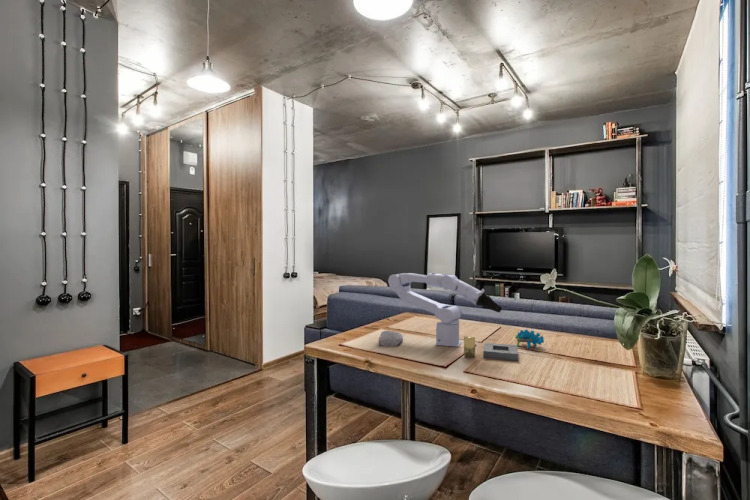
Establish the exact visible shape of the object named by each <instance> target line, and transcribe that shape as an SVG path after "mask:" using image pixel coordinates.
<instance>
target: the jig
mask: <svg viewBox="0 0 750 500" xmlns="http://www.w3.org/2000/svg"><path fill="white" fill-rule="evenodd" d="M482 357H483V359H493V360H503V361H512V362H519V349H518V346H517V344H509V343H495V342H484V346H483V356H482Z"/></svg>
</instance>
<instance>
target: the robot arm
mask: <svg viewBox="0 0 750 500" xmlns="http://www.w3.org/2000/svg"><path fill="white" fill-rule="evenodd" d="M387 281H388V286H389V289H390V290H392V291H394V293H395V294H396V295H397V296H398V297H399V298H400V300H402V301H404V302H407V303H409V304H410V305H413V306H415V307H418V308H420V309H423V310H425V311H426V312H429V313H431V314H434V316H435V318H437V319H439V320H440V321H439V322H437V323H436V327H435V328H436V329H435V335H436V336H435V338H436V339H435V341H436V342H435V346H445V347H457V348H459V347H460V346H461V343H462V340H460V318H462V309H461V308H460V307H459V306H458V305H449V304H448V303H447V304H445V303H440V302H438V301H436V300H433V299H430V298H428V297H426V296H425V295H421V294H419V293H417V292H415V291H412V290H411V289H412V288H411V283H424V284H426V285H427V286H428V287H435V288H442V289H443V290H446V291H449V290H450V291H451V292H454V294H456V295H458V296H459V297H462V298H463V299H465V300H466V301H469V302H470V303H472V304H474V305H475V306H481V308H482V309H484V310H485V309H487V310H491V311H494V312H496V313H501V311H502V309H503V308H502V306H501V305H499V304H497V303H496V302H495V301H494V300H493V299H492V298H491V296H490V295H487V294H486V293H485V289H484V288H482V289H481V290H479V289H478V288H476V287H474V286H473V285H470V284H468V283H467V282H464V281H463V280H461V279H458V277H457V276H456V275H454V274H448V275H447V274H446V273H442V274H441V273H437V272H436V271H432V272H430V273H428V274H427V275H426V274H419V273H413V272H408V273H407V272H402V273H397V274H394V273H393V274H391V275H390V276H388V279H387Z"/></svg>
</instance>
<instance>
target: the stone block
mask: <svg viewBox="0 0 750 500" xmlns="http://www.w3.org/2000/svg"><path fill="white" fill-rule="evenodd" d="M403 340H404V336H403V335H402V333H400V332H398V331H394V330H383V331H381V332H380V336H379V337H378V345H379V346H380V347H397V346H399V344H402V342H403Z"/></svg>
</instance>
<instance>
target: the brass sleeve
mask: <svg viewBox="0 0 750 500" xmlns="http://www.w3.org/2000/svg"><path fill="white" fill-rule="evenodd" d="M463 350H464V351H463V356H464V357H465V358H469V359H471V358H476V337H475V336H472V335H466V336H464V337H463Z"/></svg>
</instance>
